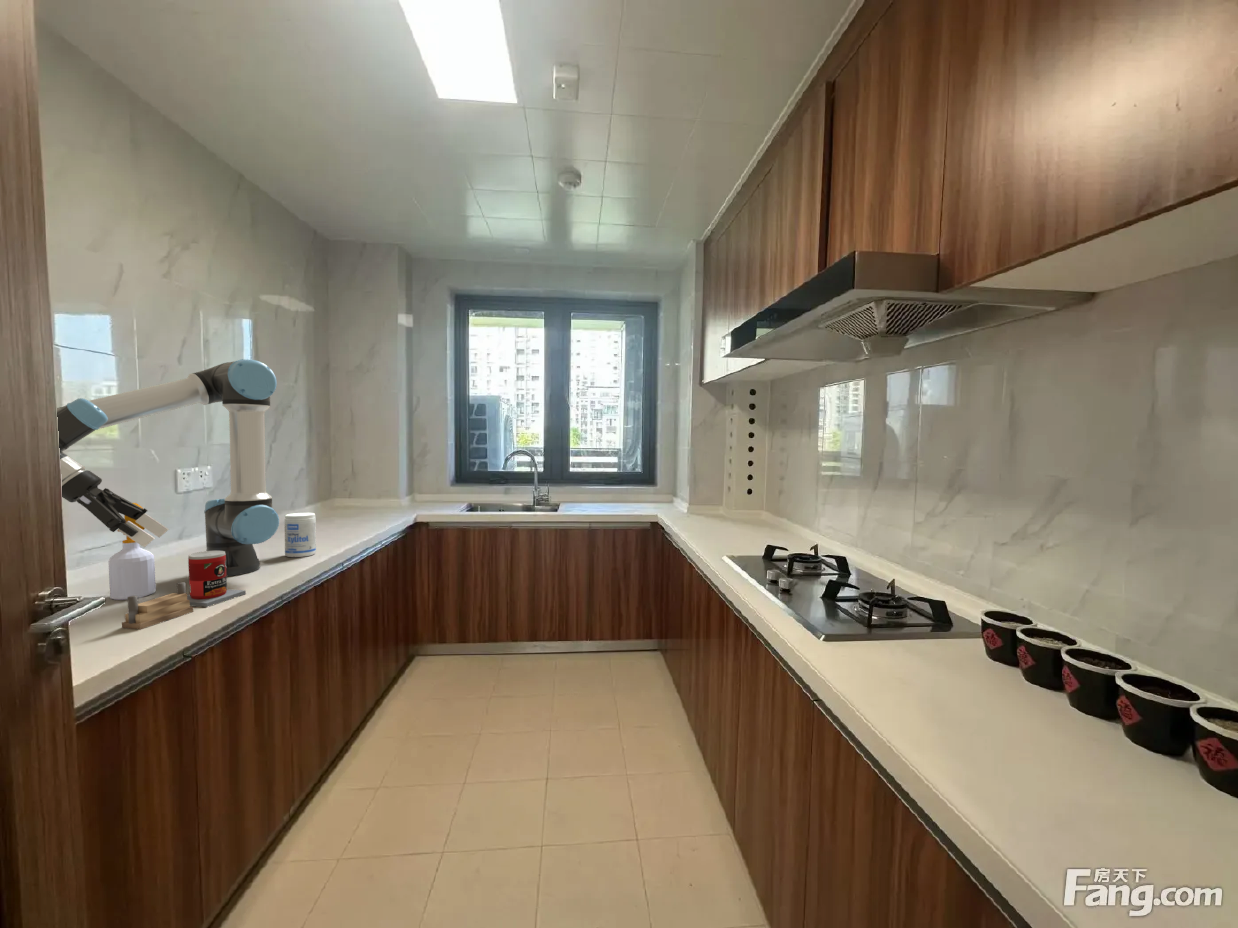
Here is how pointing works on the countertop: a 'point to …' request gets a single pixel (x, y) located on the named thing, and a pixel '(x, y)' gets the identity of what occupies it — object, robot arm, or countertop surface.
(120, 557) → the soap bottle
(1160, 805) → the countertop surface
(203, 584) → the canned food
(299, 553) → the supplement tub
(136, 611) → the offcut rack
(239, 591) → the slate mat
